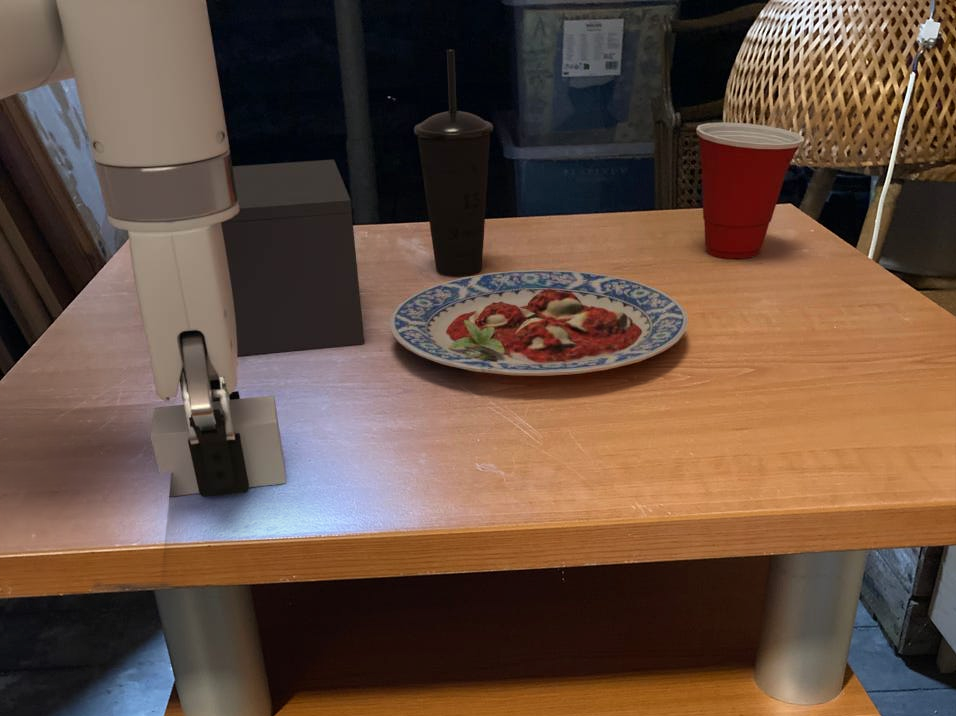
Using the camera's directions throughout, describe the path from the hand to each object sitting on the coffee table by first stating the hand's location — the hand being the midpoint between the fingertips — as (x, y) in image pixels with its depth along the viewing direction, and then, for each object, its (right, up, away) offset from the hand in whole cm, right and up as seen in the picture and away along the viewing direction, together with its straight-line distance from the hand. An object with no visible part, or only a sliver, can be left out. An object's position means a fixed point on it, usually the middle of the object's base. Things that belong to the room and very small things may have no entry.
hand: (224, 467), depth 68 cm
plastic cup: (+45, +30, +39) cm, 67 cm away
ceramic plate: (+23, +15, +20) cm, 33 cm away
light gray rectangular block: (0, 0, 0) cm, 1 cm away
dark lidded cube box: (-1, +18, +25) cm, 31 cm away
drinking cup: (+15, +27, +37) cm, 48 cm away
